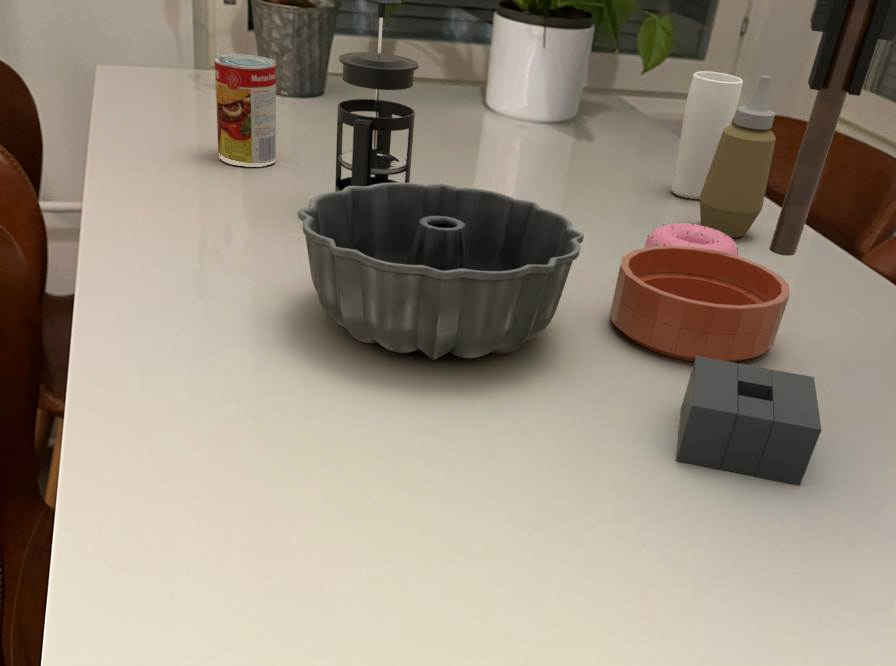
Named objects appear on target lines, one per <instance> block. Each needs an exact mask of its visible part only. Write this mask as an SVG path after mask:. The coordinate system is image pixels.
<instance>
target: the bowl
mask: <svg viewBox="0 0 896 666" xmlns="http://www.w3.org/2000/svg"><path fill="white" fill-rule="evenodd" d="M790 292H791V291H790V285H789V283H788V282H786V280H784V278H783V277H782V276H781V275H780V274H778V273H777V272H774V271H773V270H771V269H770V268H768V267H766V266H765V265H762V264H759V263H756V262H754V261H752V260H749V259H747V258H744V257H742V256H739V255H738V256H735V255H731V254H727V253H723V252H720V251H713V250H707V249H702V248H696V247H695V248H694V247H684V246H654V247H642V248H638V249H633V250H631V251H630V252H628V253H627V254H625V255H624V256H622V257H621V261H620V265H619V270H618V274H617V279H616V283H615V288H614V292H613V298H612V302H611V307H610V311H609V318H610V319H611V321H612V323H613V325H614V326H615V327H616V328H617V329H618V330H620V331H621V332H622V333H623V334H625V335H626V336H627V337H628V338H629V337H630V338H631V339H630V338H629V339H630V340H632V341H633V342H635V343H636V344H637V345H640V346H641V345H642V346H641V347H644V348H645V347H646V348H645V349H648V350H650V351H653V352H655V353H658V354H661V355H662V356H663V355H664V356H667V357H670V358H674V359H679V360H684V361H689V362H694V361H695V357H696V356H700V357H706V358H711V359H717V360H722V361H728V362H733V363H737V362H741V361H744V360H749V359H753V358H756V357H758V356H762V355H764V354H766V353H767V352H768V351H769V350H770V349H771V348H772V347H773V346H774V343H775V340H776V338H777V335H778V332H779V328H780V325H781V323H782V320H783V317H784V313H785V312H786V311H785V310H786V307H787V305H788V301H789V298H790V295H791V293H790Z"/></svg>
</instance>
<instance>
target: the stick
mask: <svg viewBox="0 0 896 666" xmlns="http://www.w3.org/2000/svg"><path fill="white" fill-rule="evenodd" d="M876 2H877V0H849V2H848V5H847V9H846V12H845V15H844V18H843V22H842V25H841V28H840V31H839V35H838V38H837V41H836V44H835V47H834V51H833V54H832V57H831V60H830V64H829V67H828V70H827V73H826V77H825V80H824V83H823V86H822V90H821V91H820V90H817V92H816V96H815V99H814V102H813V104H812V108H811V112H810V115H809V118H808V122H807V125H806V128H805V132H804V133H803V138H802V140H801V143H800V147H799V151H798V154H797V158H796V160H795V164H794V167H793V170H792V174H791V176H790V179H789V183H788V187H787V190H786V193H785V197H784V199H783V203H782V205H781V206H782V207H781V209H780V213H779V216H778V218H777V223H776V226H775V229H774V232H773V236H772V238H771V241H770V246H769V251H770V252H771V253H774V254H776V255H778V256H779V255H780V256H785V257H786V256H787V257H789V256H794V255H795V254H796V252H797V248H798V246H799V243H800V240H801V237H802V233H803V230H804V228H805V223H806V221H807V218H808V215H809V212H810V209H811V206H812V202H813V200H814V197H815V194H816V191H817V187H818V184H819V181H820V179H821V175H822V172H823V170H824V166H825V163H826V159H827V156H828V153H829V150H830V147H831V146H832V145H831V144H832V141H833V139H834V135H835V132H836V129H837V127H838V124H839V119H840V116H841V114H842V110H843V107H844V104H845V101H846V98H847V95H848V92H847V91H848V88H849V85H850V82H851V79H852V76H853V73H854V70H855V67H856V64H857V60H858V57H859V54H860V51H861V48H862V45H863V42H864V39H865V36H866V33H867V30H868V26H869V23H870V20H871V17H872V14H873V11H874V8H875V5H876Z"/></svg>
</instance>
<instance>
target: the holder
mask: <svg viewBox="0 0 896 666" xmlns="http://www.w3.org/2000/svg"><path fill="white" fill-rule="evenodd" d="M690 372H691V373H690V375H689V379H688V381H687V386H686V389H685V392H684V396H683V400H682V403H681V407H680V418H679V426H678V435H677V446H676V455H675V461H677V462H681V463H686V464H692V465H695V466H700V467H701V466H702V467H706V468H711V469H716V470H722V471H727V472H732V473H737V474H742V475H748V476H751V477H755V478H762V479H765V480H771V481H776V482H780V483H786V484H792V485H795V486H801V484H802V481H803V478H804V477H805V473H806V472H807V470H808V469H807V468H808V467H809V464H810V461H811V459H812V456H813V454H814V451H815V448H816V446H817V443H818V441H819V438H820V435H821V433H822V423H821V418H820V409H819V403H818V394H817V388H816V381H815V376H811V375H805V374H799V373H794V372H788V371H782V370H777V369H771V368H767V367H760V366H755V365H750V364H744V363H737V362H728V361H722V360H717V359H711V358H706V357H700V356H696V357H695V361H693V365H692V369H691V371H690Z"/></svg>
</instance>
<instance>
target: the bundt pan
mask: <svg viewBox="0 0 896 666" xmlns="http://www.w3.org/2000/svg"><path fill="white" fill-rule="evenodd" d="M308 205H309V206H307V207H304V208H300V209H299V210H297V212H298V213H297V215H298V219H299V220H301V221H302V232H303V235H304V236H305V242H306V249H307V256H308V262H309V268H310V270H309V271H310V276H311V280H312V284H313V286H314V290H315V291H316V294H317V297H318V301H319V303H320V305H321V307H322V309H323V311H324V312H325V313H326V315H327V316H328V317H329V318H330V319H331V320H332V321H333V322H335V323H336V324H337V325H339V326H340V327H343V328H344V329H346V330H347V332H348V333H349V335H350V336H351V337H352V338H353V339H354V340H357V341H359V342H361V343H363V344H376V343H377V344H379V345H380V346H381V347H383V348H385V349H386V350H388V351H391V352H393V353H398V354H408V353H409V354H410V353H412V352H416V351H419V350H420V351H421V352H422V353H423V354H424V355H426V356H427V357H428V358H429V359H431V360H432V361H436V360H438V359H439V358H441V357H443V356H445V355H446V354H448V353H450V354H452V355H453V356H456V357H457V358H461V359H477V358H481V357H483V356H485V355H488V354H489V353H492V354H493V353H494V354H498V355H499V354H501V355H505V354H509V353H512V352H515V351H516V350H518V349H519V348H520V347H522V346H523V344H524V343H525V342H527V341H529V340H531V339H534V338H535V337H537V336H538V335H539V334H541V333H542V332H543V331H544V330H545V329H546V328H547V326H549V324H551V321H552V319H553V318H554V316H555V314H556V311H557V309H558V306H559V303H560V300H561V297H562V295H563V292H564V289H565V286H566V283H567V279H568V276H569V274H570V270H571V267H572V264H573V261H575V260H576V259H578V257H579V256H580V252H581V245H580V244H582V242H583V241H584V237H585V234H584V233H582V232H580V231H578V230H576V229H574V227H573V223H572V221H571V220H570V219H569V218H567V216H565V215H563V214H561V213H558V212H555V211H553V210H551V209H546V208H542V207H540V205H539V204H538V203H537V202H536V201H530V200H525V199H519V198H514V197H512V196H510V195H507V194H505V193H501V192H498V191H493V190H488V189H483V188H473V187H458V186H455V185H450V184H447V183H446V184H445V183H430V184H423V183H414V182H409V183H405V182H401V181H397V182H391V183H380V184H374V185H371V186H348V187H345V188H344V189H343V190H342V191H336V192H335V191H331V192H325V193H321V194H319V195H316V196H314V197H313V198H311V199H310V201H309V204H308Z"/></svg>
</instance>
